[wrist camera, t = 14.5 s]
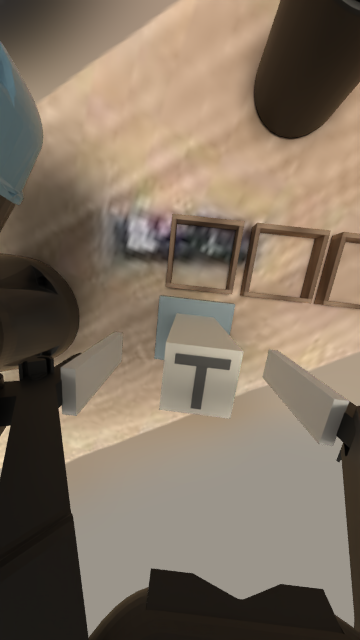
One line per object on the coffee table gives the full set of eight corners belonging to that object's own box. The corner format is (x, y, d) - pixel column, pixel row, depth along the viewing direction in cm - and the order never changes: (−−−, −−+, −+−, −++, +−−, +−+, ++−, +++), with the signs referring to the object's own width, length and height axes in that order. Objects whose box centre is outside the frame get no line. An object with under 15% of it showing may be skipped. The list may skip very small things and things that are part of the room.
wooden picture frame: (167, 286, 23) (165, 286, 21) (173, 218, 21) (172, 213, 20) (229, 293, 23) (232, 294, 21) (240, 226, 21) (244, 221, 20)
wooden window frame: (240, 295, 23) (243, 295, 21) (252, 227, 21) (257, 222, 20) (302, 302, 23) (311, 303, 21) (320, 234, 21) (330, 230, 19)
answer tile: (155, 355, 25) (154, 358, 24) (160, 295, 23) (159, 295, 22) (222, 363, 25) (223, 367, 24) (233, 303, 23) (235, 304, 22)
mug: (374, 106, 18) (552, -65, 9) (265, 154, 19) (332, 44, 11) (360, -2, 17) (558, -332, 8) (242, 58, 18) (297, -167, 9)
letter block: (172, 348, 24) (158, 411, 12) (176, 313, 22) (165, 342, 11) (208, 352, 23) (230, 420, 12) (213, 317, 22) (244, 352, 11)
